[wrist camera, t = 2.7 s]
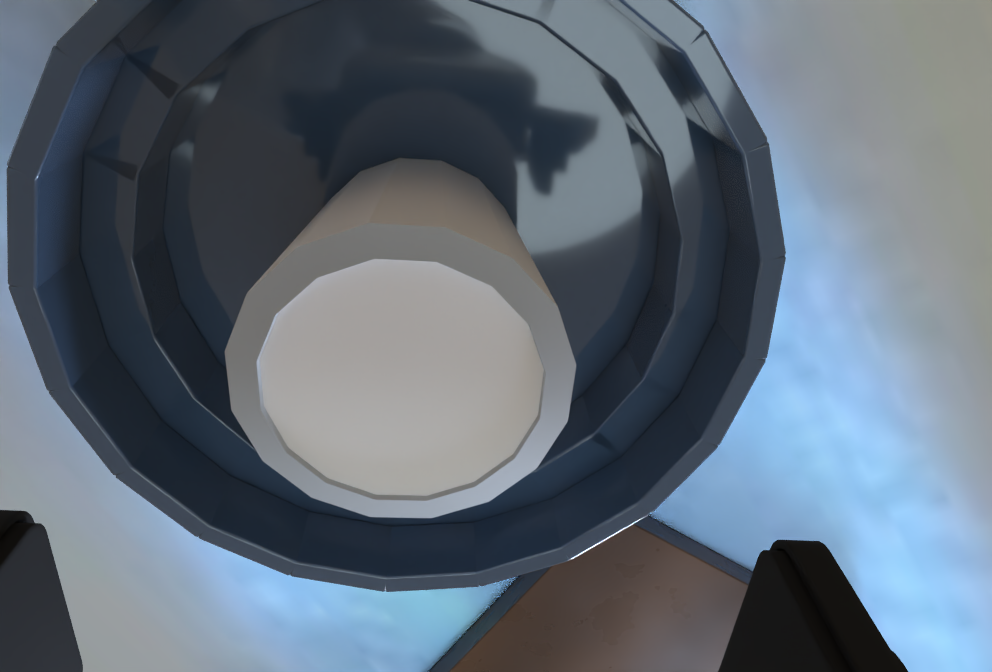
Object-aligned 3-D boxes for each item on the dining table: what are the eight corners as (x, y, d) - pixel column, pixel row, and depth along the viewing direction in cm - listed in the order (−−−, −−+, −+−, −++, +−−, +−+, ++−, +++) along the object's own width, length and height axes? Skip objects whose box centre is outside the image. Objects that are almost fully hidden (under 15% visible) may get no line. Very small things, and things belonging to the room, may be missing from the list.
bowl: (9, 329, 21) (-95, 418, 17) (283, -294, 15) (221, -385, 11) (493, 556, 26) (500, 664, 22) (843, 173, 20) (941, 227, 16)
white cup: (526, 116, 18) (565, 199, 12) (548, 346, 22) (587, 502, 16) (264, 151, 18) (170, 251, 12) (325, 375, 22) (275, 542, 16)
